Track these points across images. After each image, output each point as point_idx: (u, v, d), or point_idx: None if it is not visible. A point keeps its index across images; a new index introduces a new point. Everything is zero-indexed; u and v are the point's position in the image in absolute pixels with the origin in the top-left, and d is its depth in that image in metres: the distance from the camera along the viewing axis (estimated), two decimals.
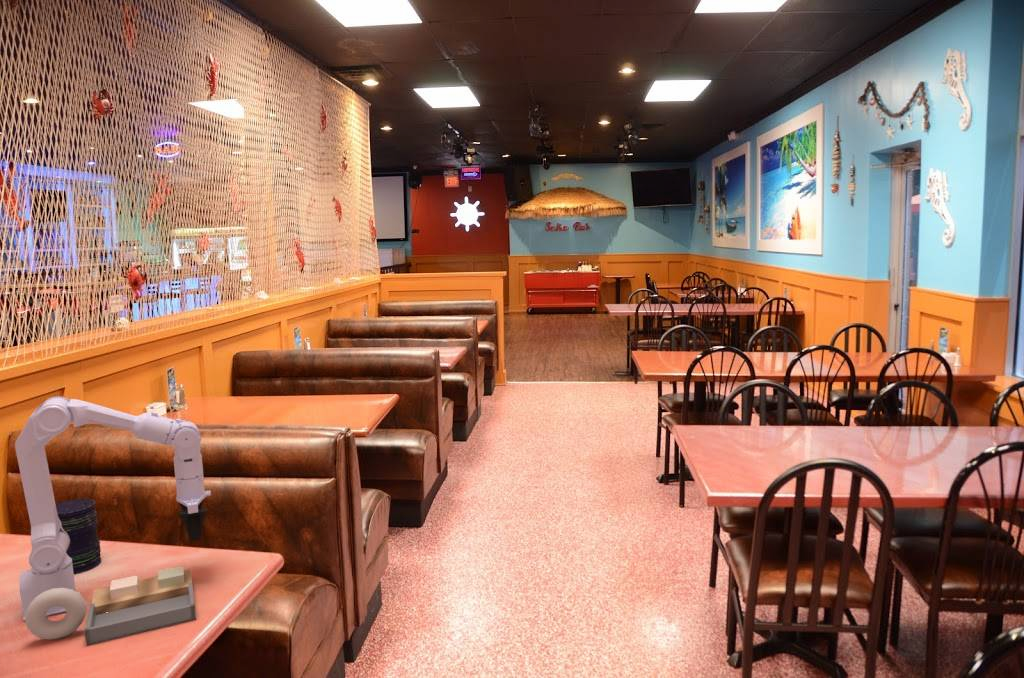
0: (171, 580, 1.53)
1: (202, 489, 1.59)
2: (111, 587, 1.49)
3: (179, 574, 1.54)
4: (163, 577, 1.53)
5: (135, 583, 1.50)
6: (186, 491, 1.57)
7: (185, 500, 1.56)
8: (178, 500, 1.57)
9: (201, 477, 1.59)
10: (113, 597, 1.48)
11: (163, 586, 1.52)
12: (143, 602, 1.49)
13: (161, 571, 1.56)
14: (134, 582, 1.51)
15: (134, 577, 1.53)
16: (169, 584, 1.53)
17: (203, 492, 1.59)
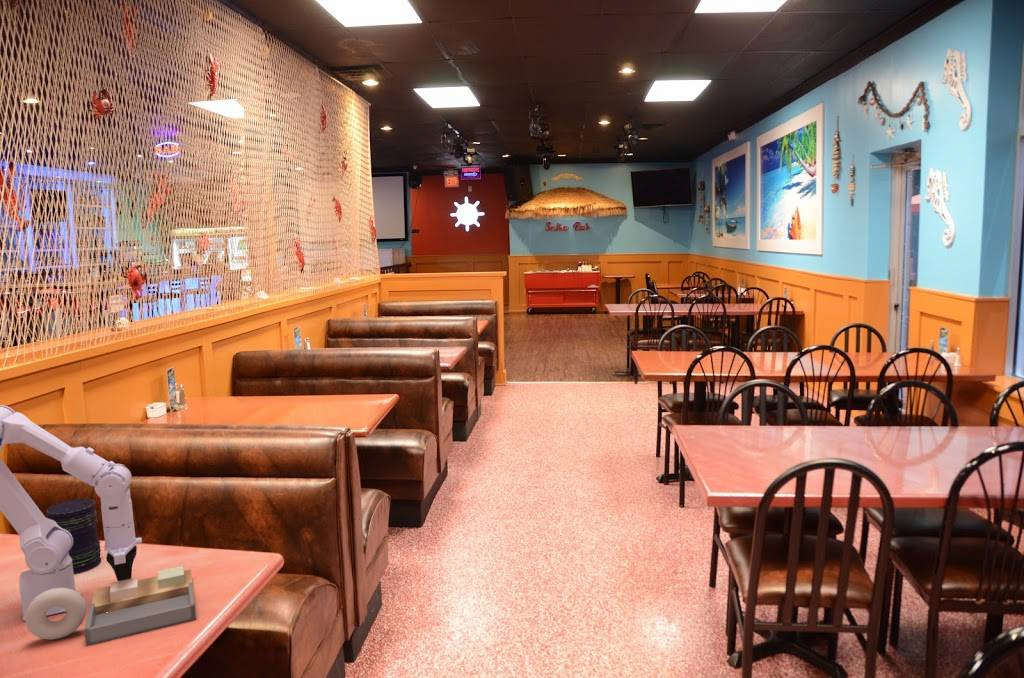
0: (171, 580, 1.53)
1: (132, 537, 1.52)
2: (111, 589, 1.48)
3: (179, 574, 1.54)
4: (163, 577, 1.53)
5: (135, 585, 1.49)
6: (114, 540, 1.49)
7: (113, 549, 1.49)
8: (106, 549, 1.50)
9: (131, 524, 1.51)
10: (113, 599, 1.47)
11: (163, 586, 1.52)
12: (143, 602, 1.49)
13: (161, 571, 1.56)
14: (134, 584, 1.50)
15: (134, 579, 1.52)
16: (169, 584, 1.53)
17: (133, 540, 1.52)
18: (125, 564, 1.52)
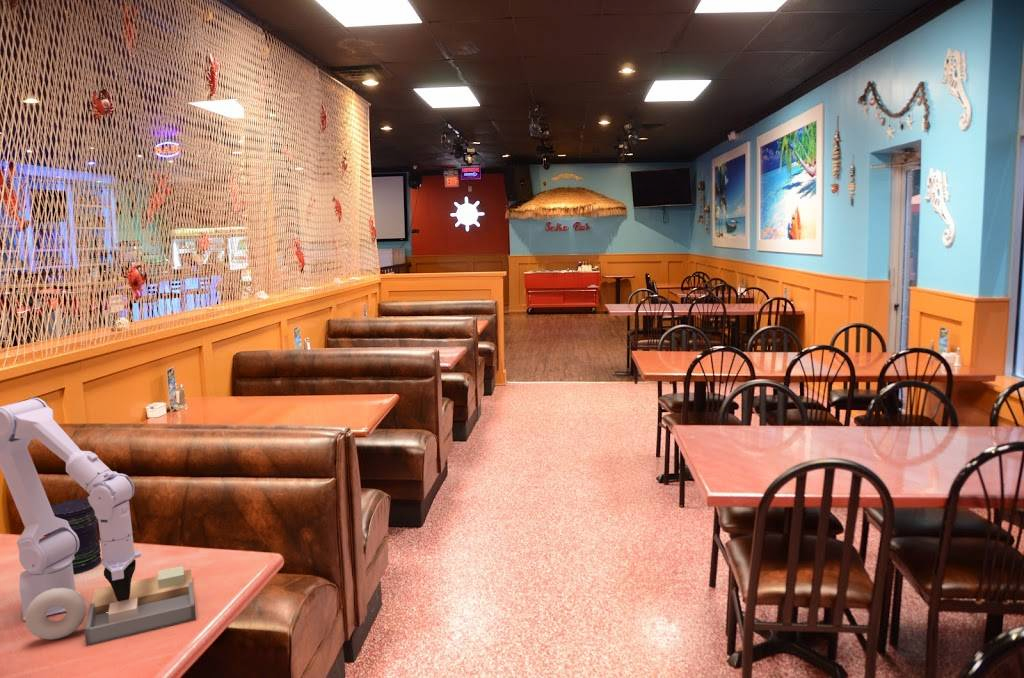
0: (171, 580, 1.53)
1: (131, 550, 1.44)
2: (109, 611, 1.42)
3: (179, 574, 1.54)
4: (163, 577, 1.53)
5: (134, 607, 1.43)
6: (112, 554, 1.42)
7: (111, 564, 1.42)
8: (103, 564, 1.42)
9: (129, 537, 1.44)
10: (111, 621, 1.41)
11: (163, 586, 1.52)
12: (143, 602, 1.49)
13: (161, 571, 1.56)
14: (134, 606, 1.44)
15: (134, 600, 1.46)
16: (169, 584, 1.53)
17: (132, 554, 1.45)
18: (123, 579, 1.45)
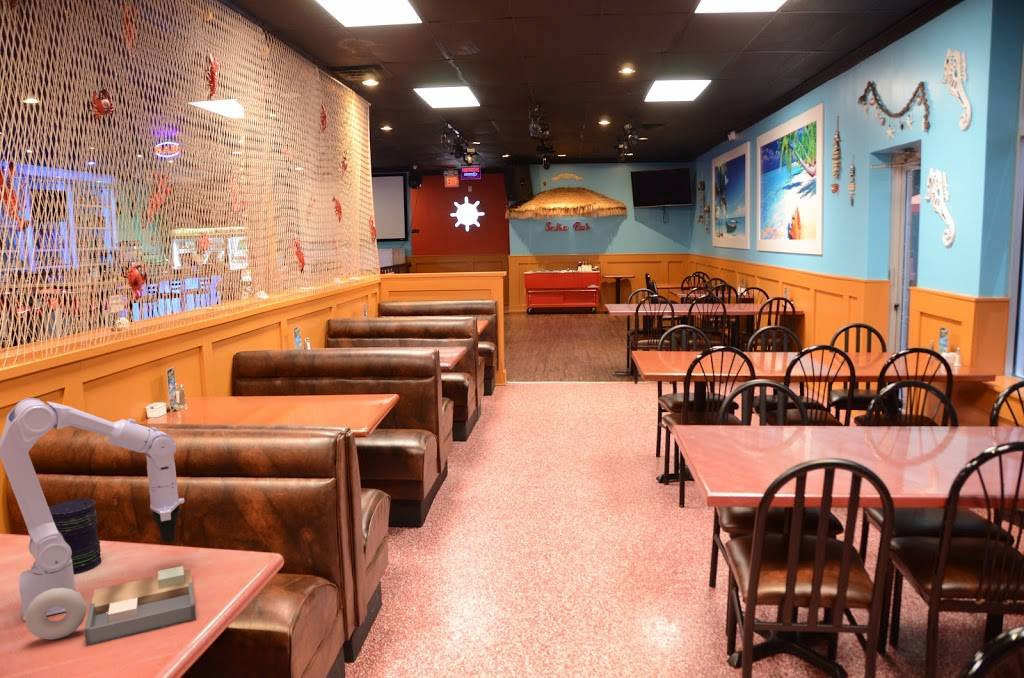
0: (171, 580, 1.53)
1: (175, 497, 1.62)
2: (109, 611, 1.42)
3: (179, 574, 1.54)
4: (163, 577, 1.53)
5: (134, 607, 1.43)
6: (160, 499, 1.60)
7: (158, 508, 1.60)
8: (152, 508, 1.60)
9: (174, 485, 1.62)
10: (111, 621, 1.41)
11: (163, 586, 1.52)
12: (143, 602, 1.49)
13: (161, 571, 1.56)
14: (134, 606, 1.44)
15: (134, 600, 1.46)
16: (169, 584, 1.53)
17: (176, 500, 1.63)
18: (169, 522, 1.63)
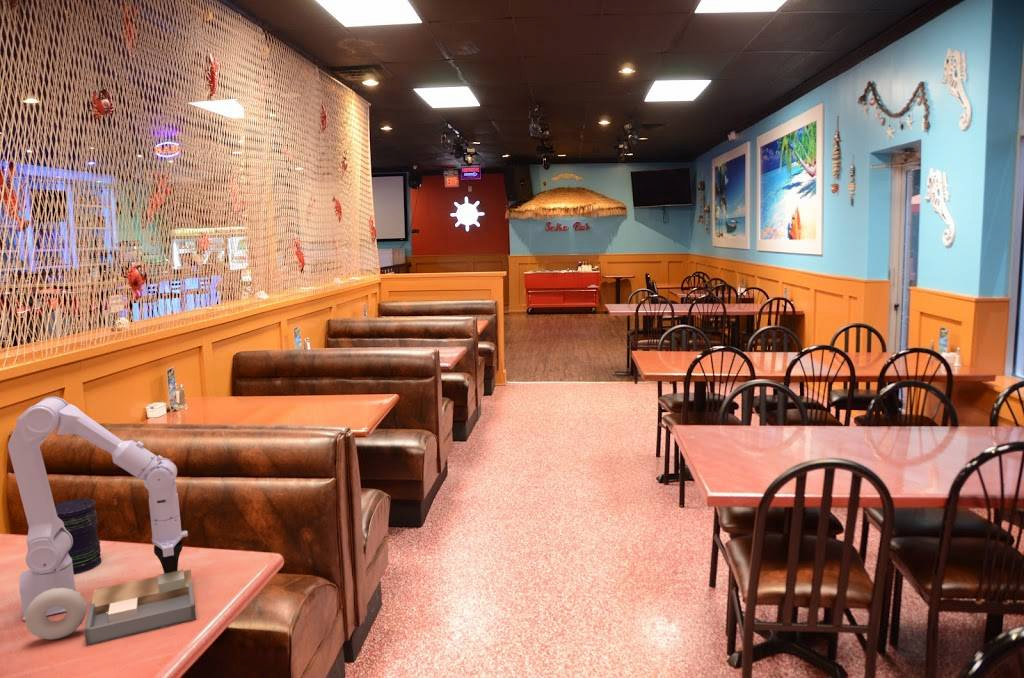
0: (172, 585, 1.51)
1: (178, 530, 1.55)
2: (109, 611, 1.42)
3: (179, 578, 1.52)
4: (163, 581, 1.51)
5: (134, 607, 1.43)
6: (162, 533, 1.52)
7: (161, 542, 1.52)
8: (153, 542, 1.52)
9: (177, 517, 1.54)
10: (111, 621, 1.41)
11: (163, 590, 1.50)
12: (143, 602, 1.49)
13: (161, 575, 1.54)
14: (134, 606, 1.44)
15: (134, 600, 1.46)
16: (169, 588, 1.51)
17: (179, 533, 1.55)
18: (171, 557, 1.55)
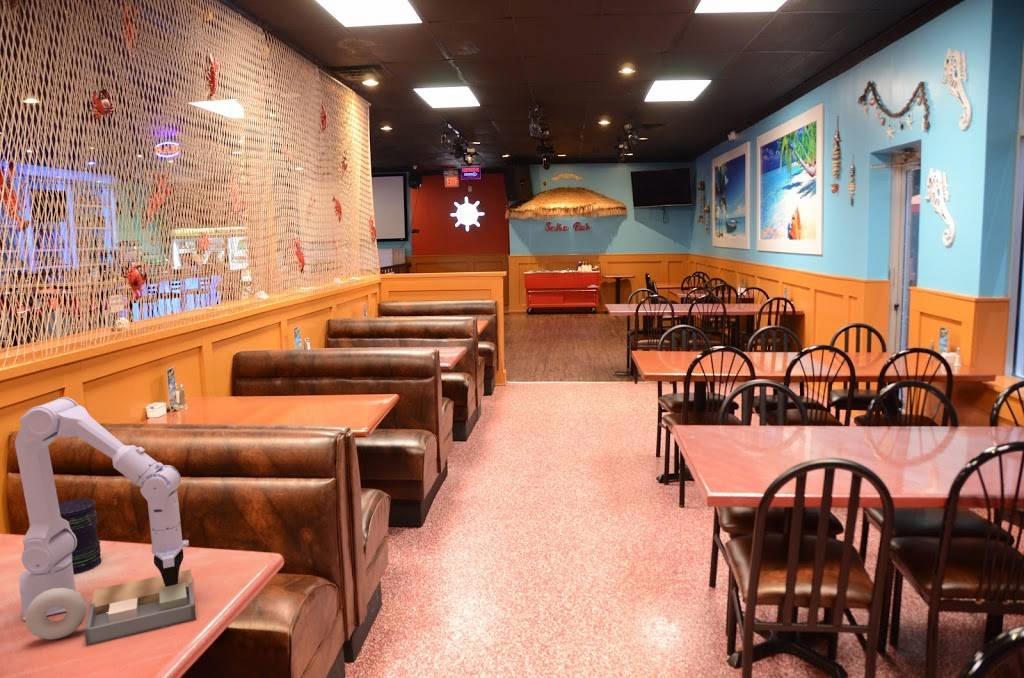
0: (173, 603, 1.46)
1: (179, 540, 1.49)
2: (109, 611, 1.42)
3: (181, 596, 1.47)
4: (165, 599, 1.46)
5: (134, 607, 1.43)
6: (162, 543, 1.47)
7: (161, 552, 1.47)
8: (153, 552, 1.47)
9: (178, 527, 1.49)
10: (111, 621, 1.41)
11: (165, 608, 1.46)
12: (143, 602, 1.49)
13: (162, 589, 1.49)
14: (134, 606, 1.44)
15: (134, 600, 1.46)
16: (171, 606, 1.46)
17: (180, 543, 1.50)
18: (172, 567, 1.50)
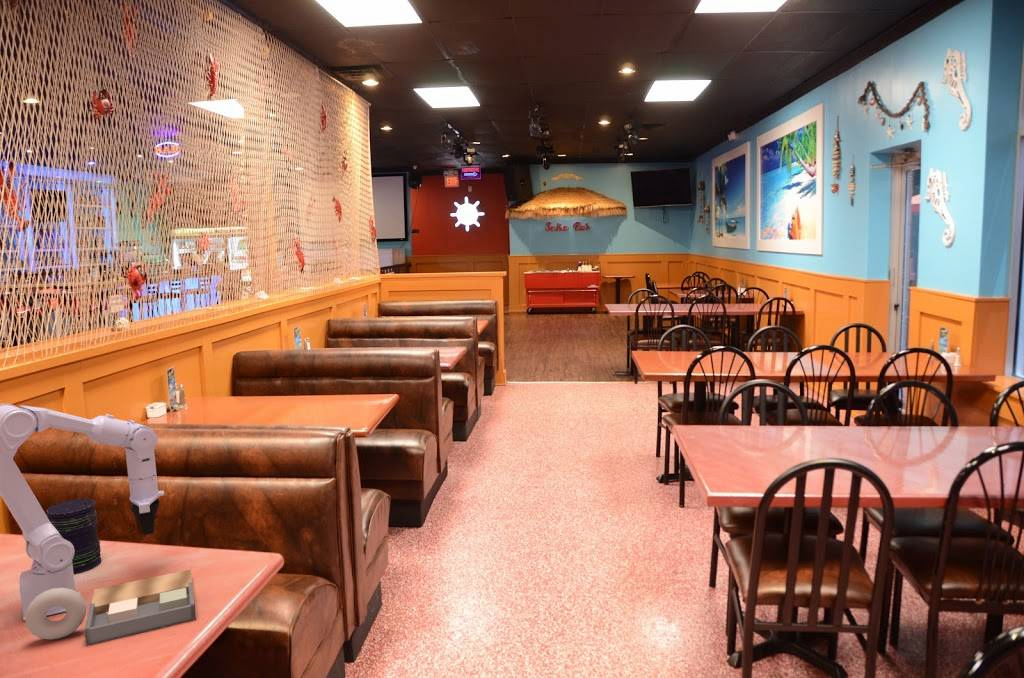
0: (174, 604, 1.46)
1: (155, 489, 1.62)
2: (109, 611, 1.42)
3: (182, 597, 1.47)
4: (165, 600, 1.46)
5: (134, 607, 1.43)
6: (139, 491, 1.59)
7: (138, 500, 1.59)
8: (131, 500, 1.60)
9: (154, 477, 1.62)
10: (111, 621, 1.41)
11: None
12: (143, 602, 1.49)
13: (163, 593, 1.49)
14: (134, 606, 1.44)
15: (134, 600, 1.46)
16: (171, 607, 1.46)
17: (156, 492, 1.62)
18: (149, 515, 1.63)
